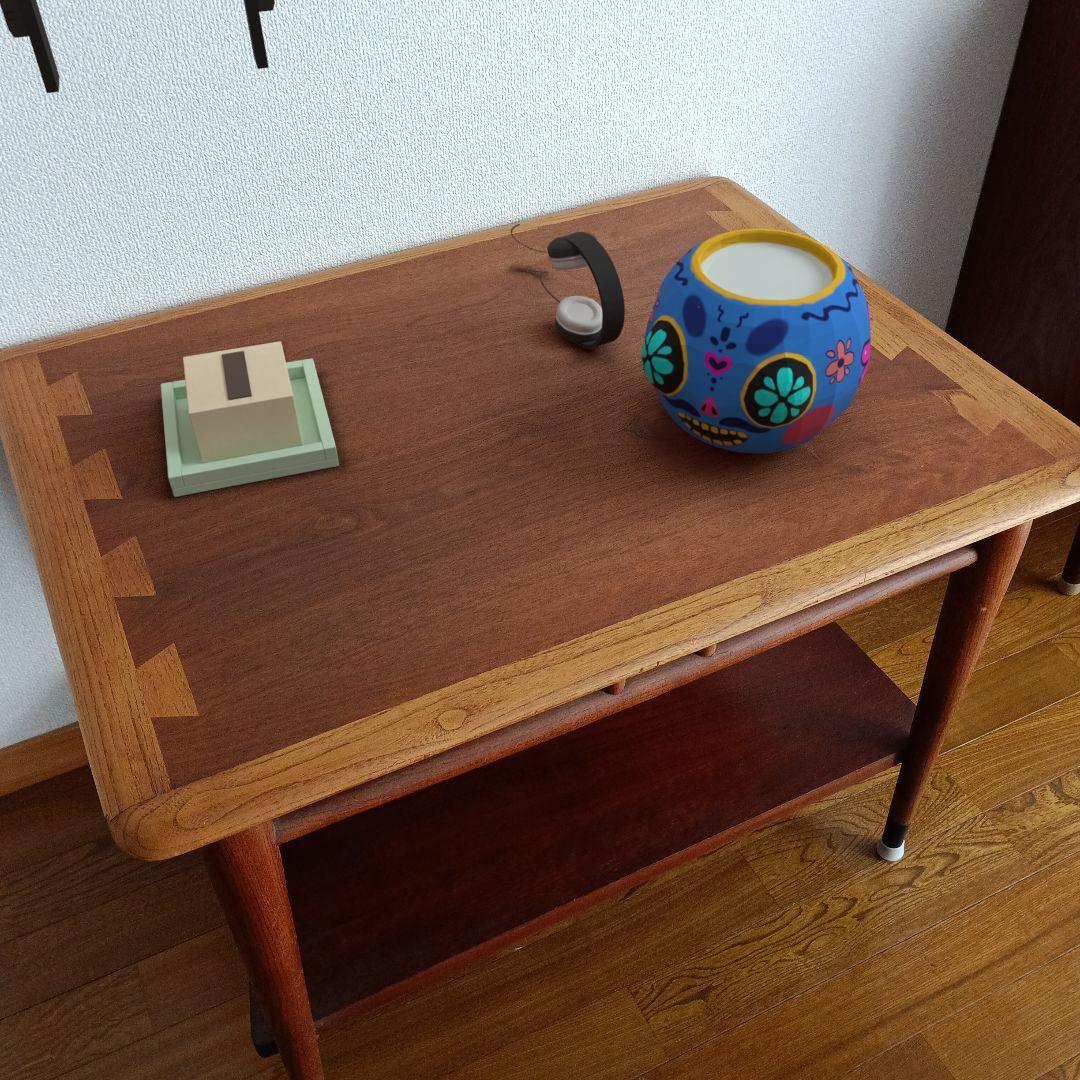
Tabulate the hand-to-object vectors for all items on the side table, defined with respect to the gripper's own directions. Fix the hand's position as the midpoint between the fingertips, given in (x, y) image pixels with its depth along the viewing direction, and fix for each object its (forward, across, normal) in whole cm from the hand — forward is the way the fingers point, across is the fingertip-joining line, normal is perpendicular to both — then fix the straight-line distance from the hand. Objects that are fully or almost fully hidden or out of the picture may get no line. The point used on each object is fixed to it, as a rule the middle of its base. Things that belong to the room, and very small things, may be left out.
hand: (159, 73), depth 75 cm
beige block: (+28, 0, +3) cm, 28 cm away
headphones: (+29, -30, -7) cm, 43 cm away
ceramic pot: (+29, -40, +14) cm, 51 cm away
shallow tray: (+29, 0, +3) cm, 29 cm away
